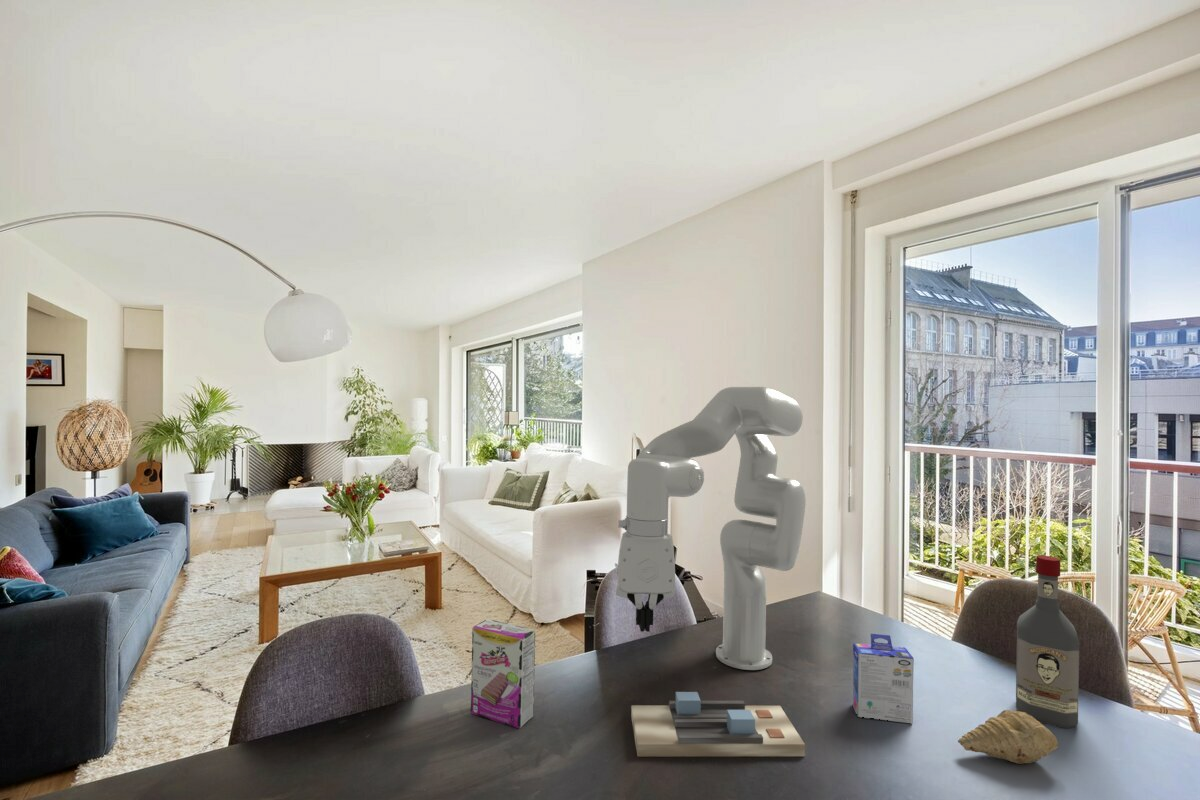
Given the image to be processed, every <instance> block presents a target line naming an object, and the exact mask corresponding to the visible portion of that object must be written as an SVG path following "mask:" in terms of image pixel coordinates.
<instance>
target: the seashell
mask: <svg viewBox="0 0 1200 800" xmlns="http://www.w3.org/2000/svg"><path fill="white" fill-rule="evenodd" d="M957 742H958V743H959V744H960V746H962V747H963V748H964V750H966V751H969V752H974V753H982V754H986V756H989V757H992V758H995V759H996V758H997V759H1001V760H1004V761H1008V762H1012V763H1016V764H1018V765H1019V764H1024V763H1025V764H1031V763H1036V762H1037V761H1039V760H1041V759H1042V758H1044V757H1048V756H1049V755H1050V753H1052V752H1053V751H1056V750H1057V749H1058V746H1059V743H1058V742H1059V741H1058V739H1057V737H1056V735H1054V733H1052V731H1050V729H1049V728H1047V727H1046V726H1045V725H1044V724H1042V722H1039V721H1037V720H1036V719H1035V718H1033V717H1032V716H1030V715H1028V714H1027V713H1025V712H1020V711H1018V710H1010V709H1004V710H1003V711H1001V712H1000V713H998V715H997V716H991V717H989V718H988V719H987V720H985V722H984V724H983V723H982V724H979V725H977V727H975V728H974V729H971V730H970V731H968V732H966V734H963V735H962V736H961V737H960V738H959V739H958V740H957Z"/></svg>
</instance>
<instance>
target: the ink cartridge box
mask: <svg viewBox="0 0 1200 800" xmlns="http://www.w3.org/2000/svg"><path fill="white" fill-rule="evenodd" d="M878 639H883V640H885V641H887V643H886V642H885V643H884V642H877V641H875V640H878ZM914 660H915V659H914V657H913V656H912V654H911V653H910V651H909V650H908V649H907V648H906V647H905V646H894V645H893V644H892V639H891V635H889V634H888V635H887V634H879V633H870V644H867V643H855V642H853V644H852V661H853V662H852V666H853V667H852V669H853V670H852V673H853V674H852V676H853V677H852V678H853V679H852V680H853V681H852V683H853V684H852V686H853V687H852V707H853V709H854V712H855V715H856V714H857V715H856V716H857V717H859V718H862V717H864V718H863V719H870V718H874V719H873V720H879V719H880V720H881V721H887V720H888V721H890V722H896V723H903V724H904V723H906V724H913V723H914Z"/></svg>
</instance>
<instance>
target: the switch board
mask: <svg viewBox="0 0 1200 800" xmlns="http://www.w3.org/2000/svg"><path fill="white" fill-rule="evenodd" d="M675 707H676V700H669V701H668V705H665V704H664V705H660V704H659V705H657V704H656V705H654V704H652V705H650V704H649V705H648V704H647V705H644V704H643V705H641V704H638V705H637V704H636V705H635V704H634V705H631V707H630V709H631V710H630V711H631V713H630V716H631V722H632V723H631V724H632V731H633V736H634V743H635V749H636V755H637V757H805V756H806V744H805V742H804V741H803V739H802V737H801V735H800V734H799V732H797V730H796V728H795V726H794V725H793V724H792V722H791V720H790V719H789V717H788V716H787V714H786V712H785V711H784V710H783V708H782V706H781V705H746V702H745V700H701V712H700V714H677V712H676V708H675ZM727 710H750V711H751V713H752V715H753V716H754V718H755V734H730V733H729V731H728V729H727Z"/></svg>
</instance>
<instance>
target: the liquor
mask: <svg viewBox="0 0 1200 800" xmlns="http://www.w3.org/2000/svg"><path fill="white" fill-rule="evenodd" d="M1035 573H1037V596H1036V597H1037V598H1036V600H1035V604H1034V605H1033V606H1031V607H1030V608H1029V609H1028V610H1025V612H1023V613H1021V614H1020V615H1019V616H1018V619H1017V621H1016V661H1015V662H1016V665H1015V666H1016V671H1015V672H1016V676H1015V677H1016V678H1015V706H1016V710H1017V711H1020V712H1025V713H1027V714H1028V715H1030V716H1032V717H1033V718H1035V719H1036V720H1037V721H1039V722H1040V723H1043V724H1047V725H1050V726H1053V727H1054V726H1055V727H1057V728H1058V727H1059V728H1061V729H1069V728H1075V727H1076V726H1077V725H1078V723H1079V689H1080V688H1079V683H1080V682H1079V680H1080V639H1079V637H1078V633H1077V631H1076V628H1075V626H1074V624H1072V622H1071V621H1070V619H1068V617H1067V616H1066V615H1065V614H1064V613H1063V612H1062V611H1061V609H1060V605H1059V579H1058V578H1059V577H1061V559H1060V558H1058V557H1056V556H1049V555H1042V554H1041V555H1036V557H1035Z"/></svg>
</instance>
